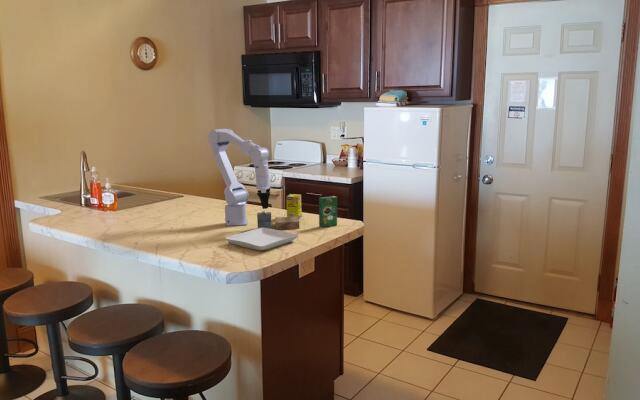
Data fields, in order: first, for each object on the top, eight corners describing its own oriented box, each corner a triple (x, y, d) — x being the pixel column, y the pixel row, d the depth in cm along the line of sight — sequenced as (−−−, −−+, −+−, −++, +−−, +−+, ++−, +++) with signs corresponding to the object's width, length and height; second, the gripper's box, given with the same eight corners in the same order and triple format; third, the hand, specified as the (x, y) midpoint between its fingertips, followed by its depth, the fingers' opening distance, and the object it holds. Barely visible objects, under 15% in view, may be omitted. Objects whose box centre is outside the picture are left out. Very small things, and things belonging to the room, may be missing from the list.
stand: (276, 229, 222) (276, 222, 221) (275, 223, 232) (275, 217, 231) (299, 228, 223) (299, 221, 222) (297, 222, 233) (297, 216, 232)
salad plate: (262, 234, 217) (262, 226, 216) (300, 242, 203) (299, 233, 203) (223, 245, 201) (223, 237, 200) (261, 255, 187) (261, 246, 187)
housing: (257, 230, 221) (257, 212, 220) (258, 228, 225) (257, 210, 224) (271, 229, 222) (271, 212, 220) (271, 227, 226) (270, 210, 224)
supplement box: (299, 219, 239) (298, 196, 237) (286, 219, 240) (285, 196, 238) (302, 216, 245) (301, 194, 243) (289, 216, 246) (289, 194, 244)
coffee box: (334, 223, 229) (334, 195, 227) (337, 225, 227) (337, 196, 224) (318, 226, 226) (318, 197, 223) (322, 227, 223) (321, 198, 221)
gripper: (271, 176, 213) (274, 208, 215) (271, 173, 227) (274, 203, 229) (254, 178, 212) (258, 210, 214) (255, 175, 227) (258, 205, 229)
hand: (265, 207), depth 222 cm, fingers open, 7 cm apart
